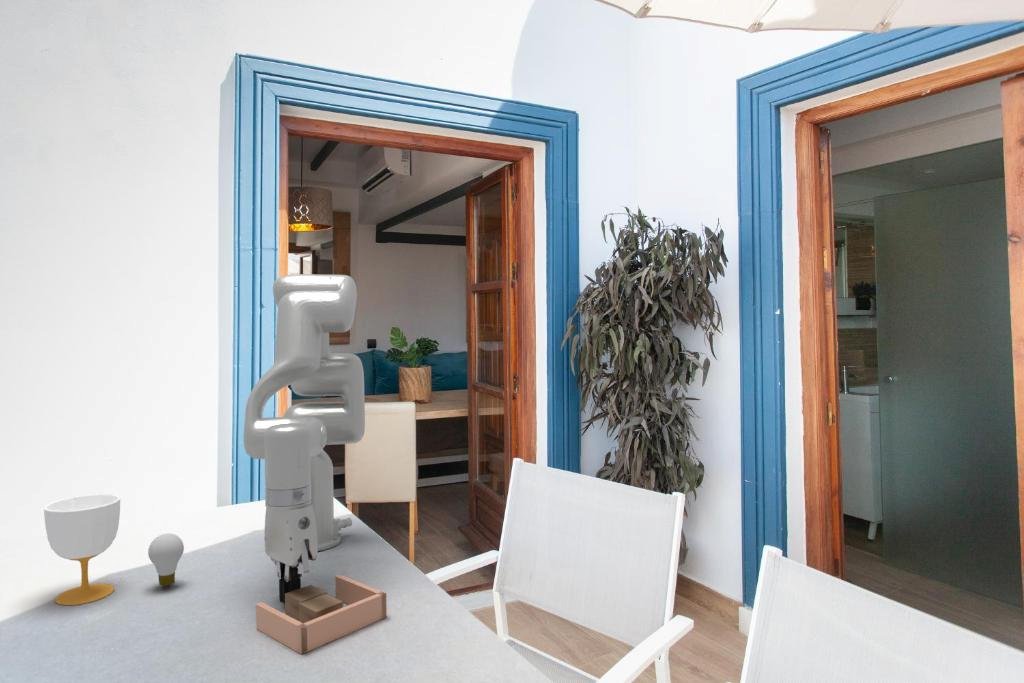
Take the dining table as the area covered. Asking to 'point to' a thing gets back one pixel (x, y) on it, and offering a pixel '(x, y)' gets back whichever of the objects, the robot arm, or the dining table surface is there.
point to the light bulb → (166, 557)
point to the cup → (82, 538)
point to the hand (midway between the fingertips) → (290, 600)
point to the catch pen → (325, 617)
